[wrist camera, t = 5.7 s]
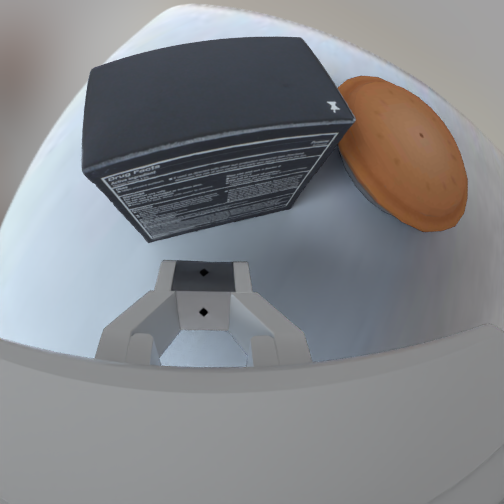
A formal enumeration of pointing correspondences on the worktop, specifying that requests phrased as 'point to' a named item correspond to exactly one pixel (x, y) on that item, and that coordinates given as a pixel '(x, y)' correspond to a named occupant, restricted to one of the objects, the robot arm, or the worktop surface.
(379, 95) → the pie
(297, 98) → the small box
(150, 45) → the worktop surface
